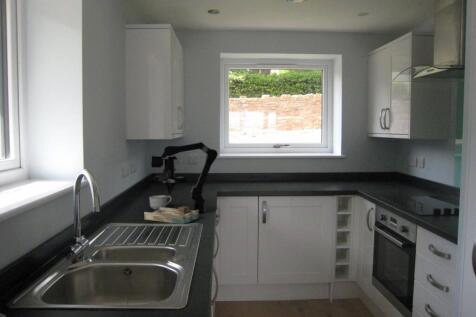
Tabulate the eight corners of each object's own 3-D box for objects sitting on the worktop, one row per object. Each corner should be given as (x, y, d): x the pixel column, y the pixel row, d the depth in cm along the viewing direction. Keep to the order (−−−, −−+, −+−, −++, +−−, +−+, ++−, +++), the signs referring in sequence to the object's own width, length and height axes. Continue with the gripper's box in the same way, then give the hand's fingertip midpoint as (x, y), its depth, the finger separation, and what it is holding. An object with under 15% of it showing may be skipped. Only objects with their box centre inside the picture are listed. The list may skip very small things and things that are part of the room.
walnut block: (183, 213, 212) (183, 206, 211) (188, 214, 209) (188, 207, 209) (178, 214, 209) (178, 207, 208) (183, 215, 206) (183, 208, 206)
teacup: (149, 211, 229) (149, 198, 228) (149, 207, 240) (148, 195, 239) (172, 209, 233) (172, 196, 232) (171, 206, 243) (171, 193, 243)
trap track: (160, 213, 222) (160, 206, 221) (198, 217, 211) (198, 209, 211) (144, 219, 208) (144, 211, 208) (184, 224, 197) (184, 215, 197)
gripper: (147, 168, 216) (148, 194, 217) (175, 169, 208) (175, 197, 209) (159, 166, 226) (160, 191, 227) (185, 167, 218) (186, 193, 219)
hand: (169, 193), depth 220 cm, fingers closed
